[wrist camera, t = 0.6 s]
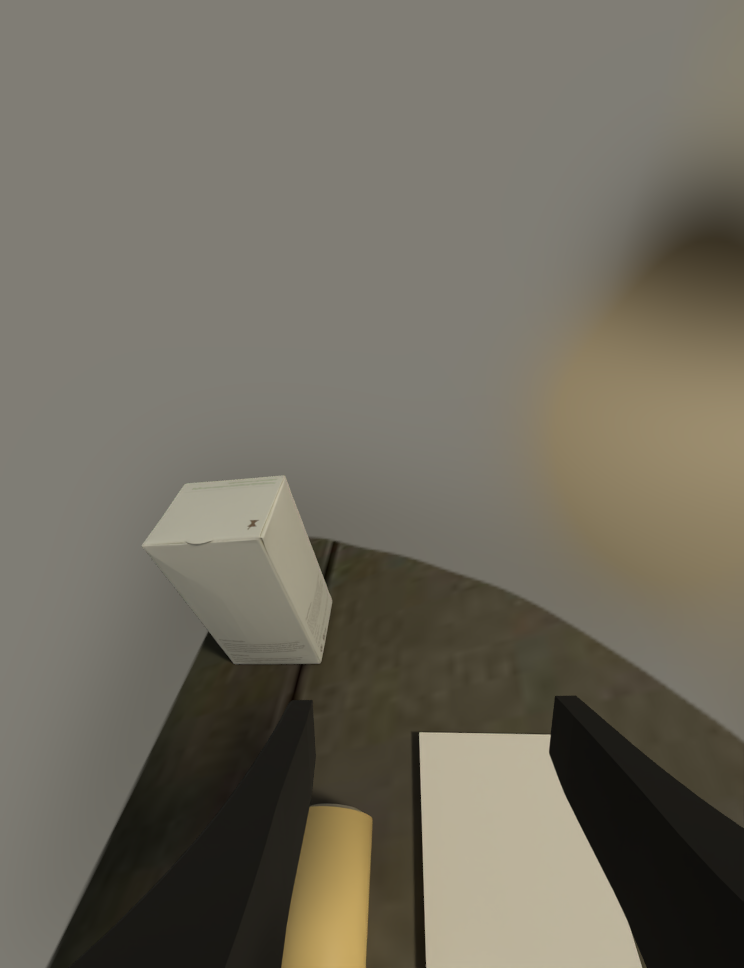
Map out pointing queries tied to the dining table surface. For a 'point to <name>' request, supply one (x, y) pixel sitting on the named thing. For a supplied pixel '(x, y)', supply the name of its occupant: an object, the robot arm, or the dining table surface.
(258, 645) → the skincare box
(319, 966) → the tall yellow cylinder
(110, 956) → the robot arm
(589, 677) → the dining table surface
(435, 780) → the plate
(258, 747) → the dining table surface
